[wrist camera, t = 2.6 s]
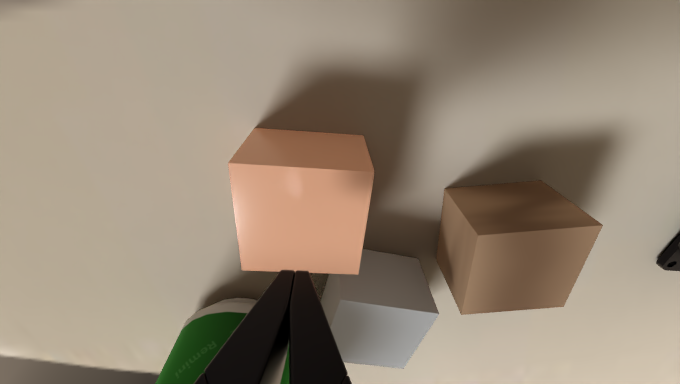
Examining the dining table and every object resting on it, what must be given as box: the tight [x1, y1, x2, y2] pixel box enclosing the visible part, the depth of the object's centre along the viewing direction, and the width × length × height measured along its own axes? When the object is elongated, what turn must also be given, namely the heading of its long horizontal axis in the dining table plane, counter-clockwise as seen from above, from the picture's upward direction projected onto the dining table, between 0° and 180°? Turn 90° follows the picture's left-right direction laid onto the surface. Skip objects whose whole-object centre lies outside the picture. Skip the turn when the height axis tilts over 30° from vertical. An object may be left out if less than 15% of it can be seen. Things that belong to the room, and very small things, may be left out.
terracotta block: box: [228, 128, 375, 275], centre depth 13 cm, size 5×5×4 cm
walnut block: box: [436, 180, 603, 315], centre depth 14 cm, size 5×5×4 cm
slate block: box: [321, 249, 439, 369], centre depth 16 cm, size 5×5×4 cm
